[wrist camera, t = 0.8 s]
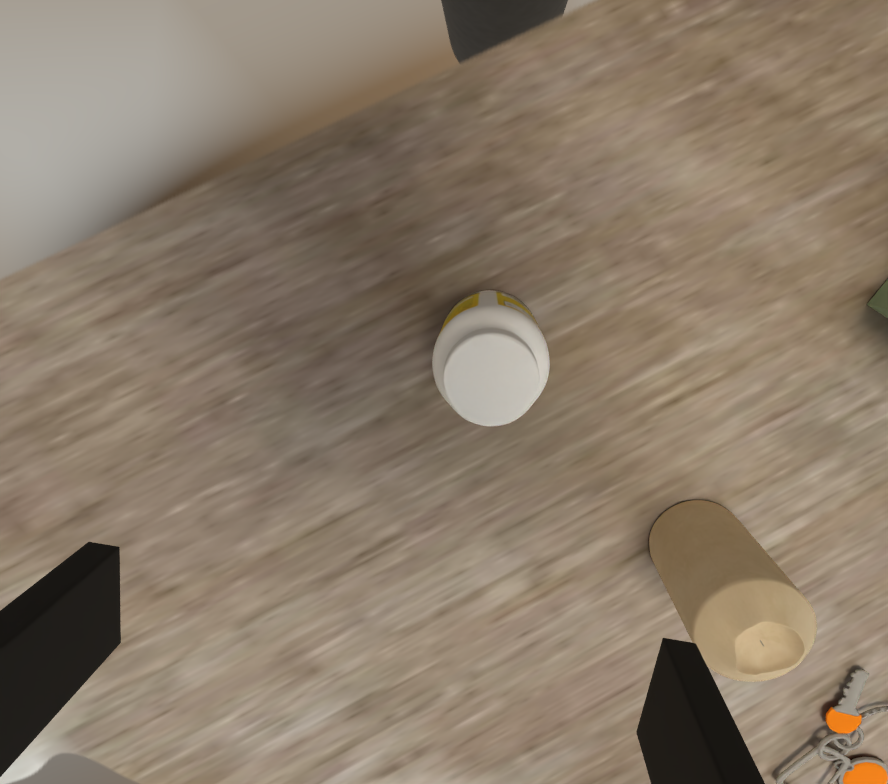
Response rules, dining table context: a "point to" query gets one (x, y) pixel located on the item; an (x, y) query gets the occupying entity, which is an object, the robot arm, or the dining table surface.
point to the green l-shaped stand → (880, 300)
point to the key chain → (859, 778)
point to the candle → (730, 593)
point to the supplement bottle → (490, 358)
